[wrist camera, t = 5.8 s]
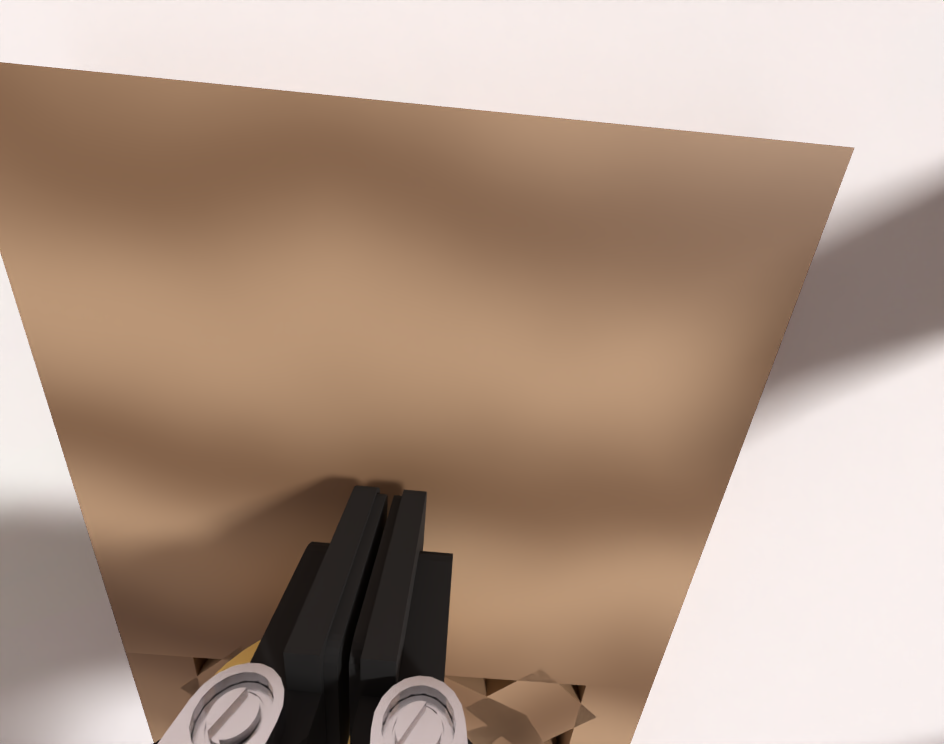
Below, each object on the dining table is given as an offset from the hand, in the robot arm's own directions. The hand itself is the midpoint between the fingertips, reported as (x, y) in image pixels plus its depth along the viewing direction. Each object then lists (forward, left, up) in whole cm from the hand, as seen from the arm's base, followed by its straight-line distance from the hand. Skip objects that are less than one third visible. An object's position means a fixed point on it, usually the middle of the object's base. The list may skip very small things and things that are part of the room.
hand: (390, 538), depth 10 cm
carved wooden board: (0, +6, -3) cm, 7 cm away
